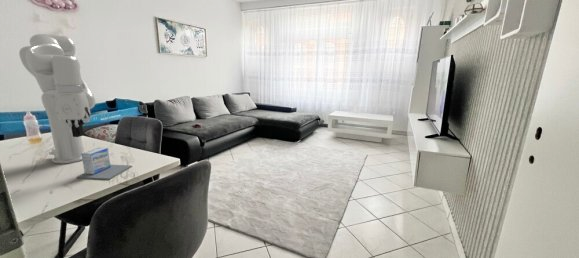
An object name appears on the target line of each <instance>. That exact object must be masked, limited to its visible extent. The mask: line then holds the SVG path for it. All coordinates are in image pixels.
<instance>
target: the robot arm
mask: <svg viewBox="0 0 579 258" xmlns="http://www.w3.org/2000/svg"><path fill="white" fill-rule="evenodd" d="M29 44H30V45H27V46H23V47H21V48H20V50H19V58H20V61H21V64H22V65H23V66H24V68H25V70H26V71H27V72H28V73H29V74H31V75H32V76H33V77H34V78H35V80H36V82H37V85H38V86H39V88H40V90H41V92H42V94H41V102H42V105H43V108H44V110H45V112H46V115H47V119H48V123H49V127H50V132H51V133H50V134H51V137H52V141H53V146H54V148H53V149H52V150H51V151H49V153H48V154H49V155H51V156H54V157H53V158H52V159H51V162H52V163H54V164H57V165H58V164H71V163H76V162H80V161H82V156H81V154H82V153H85V152H86V151H85V150H84V146H83V141H82V137H83V136H84V135H85V134H84V133H85V132H84V128H83V127H84V125H85V124H86V123H89V122H91V119H90V118H91V110H92V109H93V108H95V106H96V99H95V97H94V93H93V92H92V90H91V88H90V87H89V85H88V84H87V82H86V81H85V79H84V78H82V76H81V65H80V62H79V59H78V58H77V57H76V56H75V54H76V46H75V45H76V44H75V43H74V42H73V40H72V39H71V38H70V37H68V36H64V35H58V34H57V35H55V34H54V35H53V34H44V33H37V34H34V35H32V36H31V37H30V39H29Z"/></svg>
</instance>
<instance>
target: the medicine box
mask: <svg viewBox="0 0 579 258" xmlns="http://www.w3.org/2000/svg"><path fill="white" fill-rule="evenodd" d="M84 152H85V153H82V154H81V156H82V160H81V161H82V165H83V170H84V173H85V174H97V173H99V172H101V171H103V170H105V169H108V168H110V167H111V165H112V164H111V159H110V153H109V148H107V147H97V148H94V149H91V150H87V151H84Z"/></svg>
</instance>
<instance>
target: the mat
mask: <svg viewBox="0 0 579 258" xmlns="http://www.w3.org/2000/svg"><path fill="white" fill-rule="evenodd" d="M110 165H111V167H110V168H108V169H105V170H103V171H101V172H99V173H97V174H85V172H84V173H81V174H79V175H77V176H76V179H85V180H86V179H87V180H103V181H104V180H105V181H106V180H107V181H108V180H109V181H110V180H112V179H113V178H115V177H116V176H119V175H120V174H122V173H124V172H126V171H128V170H129V169H131V168H132V167H133V165H129V164H128V165H127V164H110Z"/></svg>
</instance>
